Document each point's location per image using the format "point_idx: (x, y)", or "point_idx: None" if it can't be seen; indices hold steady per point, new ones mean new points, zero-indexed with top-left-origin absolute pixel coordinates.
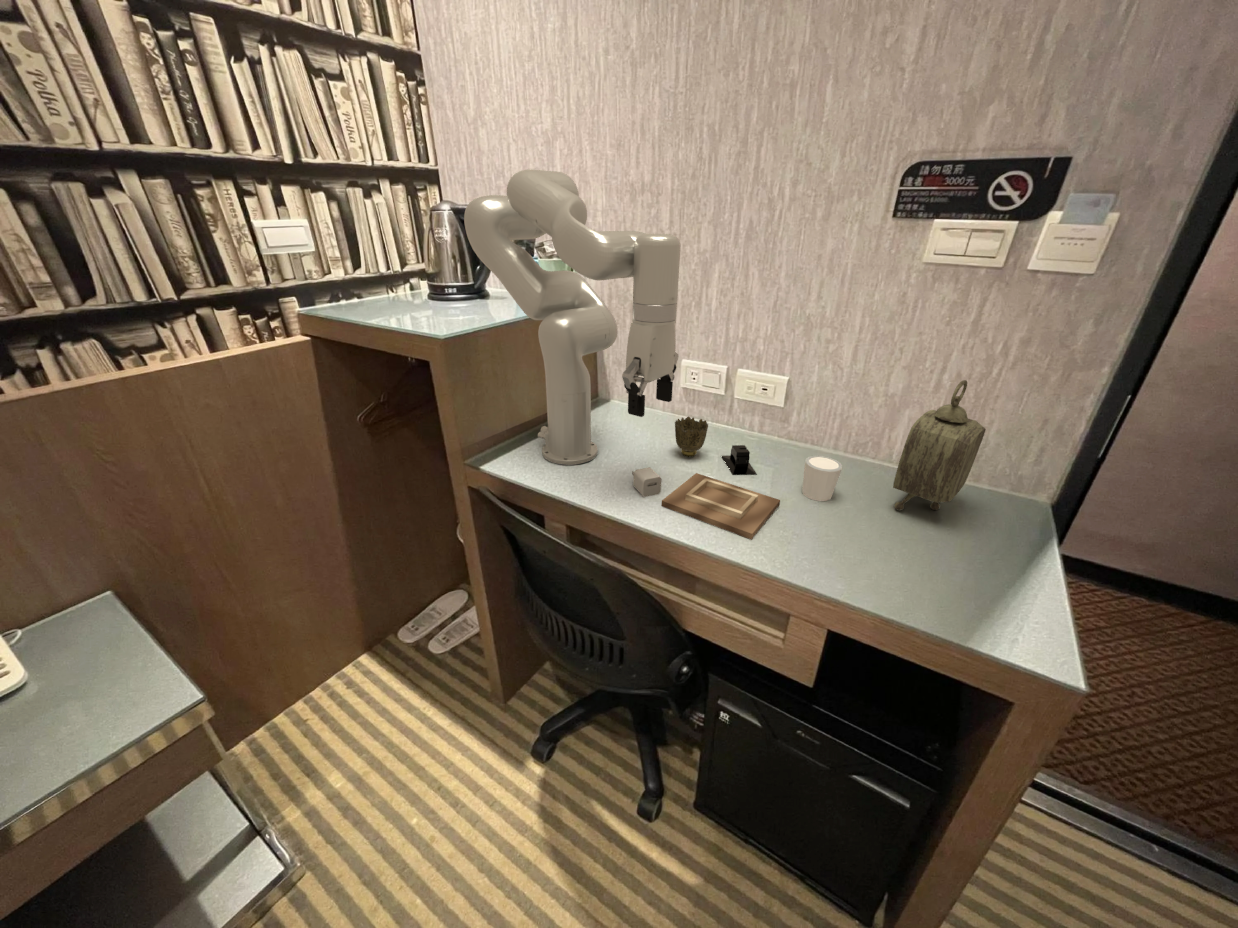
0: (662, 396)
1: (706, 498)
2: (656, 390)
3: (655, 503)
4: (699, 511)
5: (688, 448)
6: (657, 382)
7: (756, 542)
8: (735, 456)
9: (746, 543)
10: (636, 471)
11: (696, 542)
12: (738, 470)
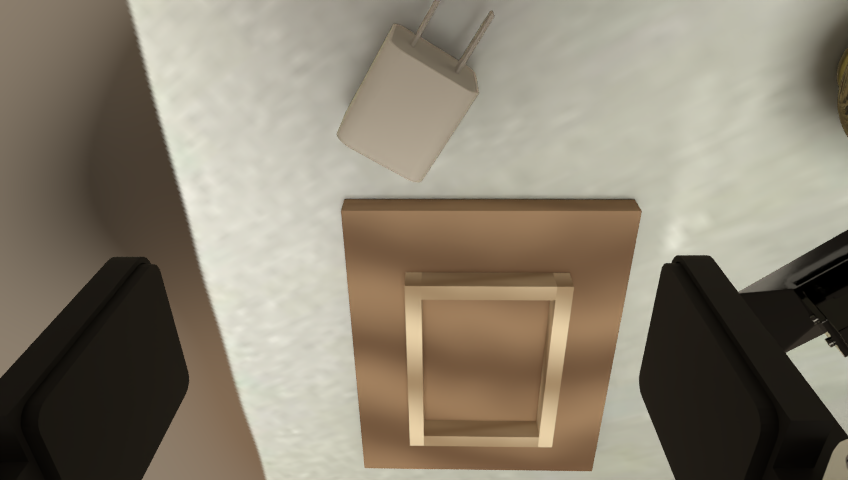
0: (663, 351)
1: (463, 320)
2: (700, 318)
3: (346, 172)
4: (369, 335)
5: (839, 110)
6: (745, 406)
7: None
8: (834, 310)
9: (343, 449)
10: (389, 58)
11: (249, 365)
12: (778, 303)
